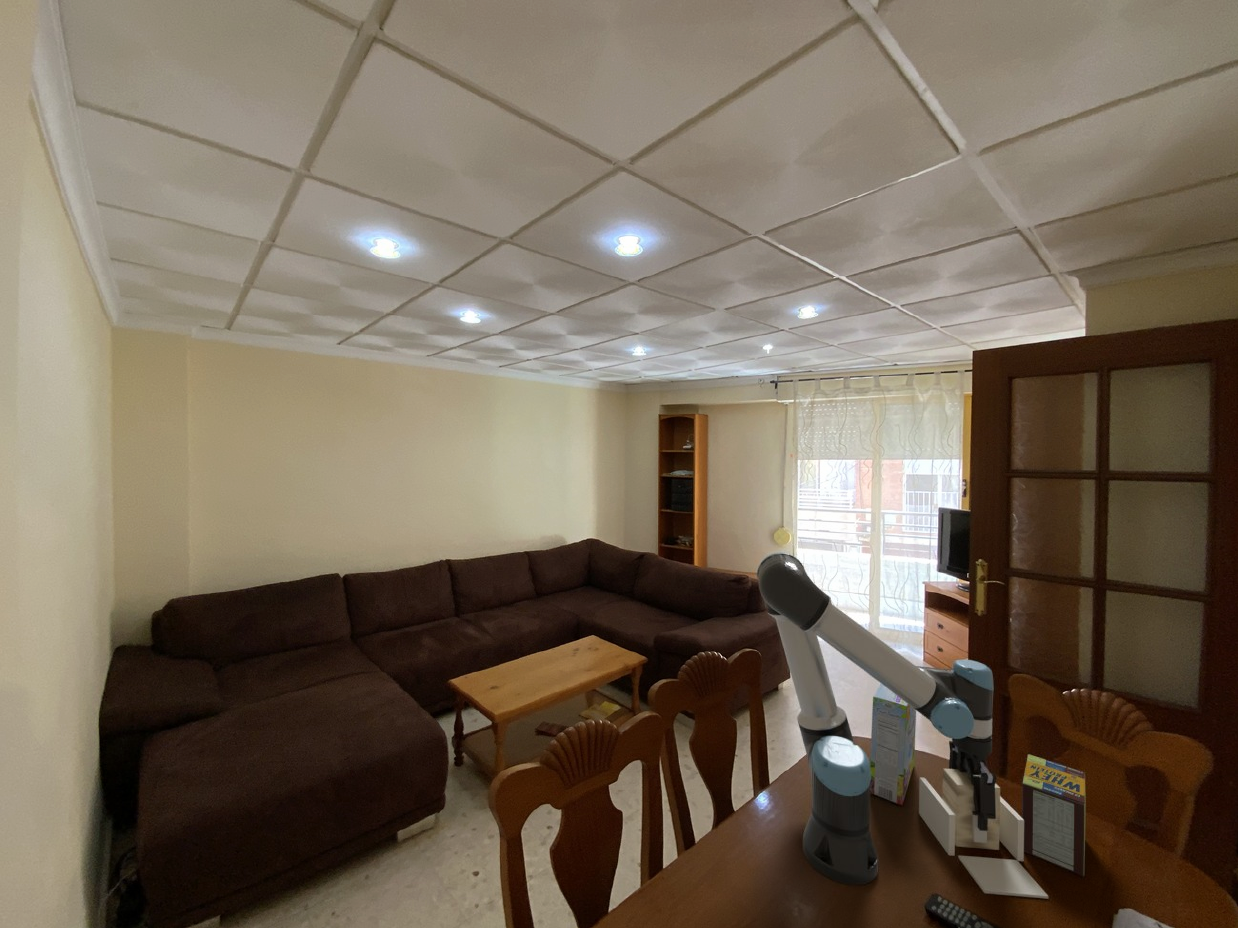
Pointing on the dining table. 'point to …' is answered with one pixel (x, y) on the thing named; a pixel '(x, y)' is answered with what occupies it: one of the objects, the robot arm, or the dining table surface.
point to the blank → (968, 809)
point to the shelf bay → (944, 822)
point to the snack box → (891, 745)
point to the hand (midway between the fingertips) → (970, 829)
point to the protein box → (1054, 813)
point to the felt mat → (1002, 877)
